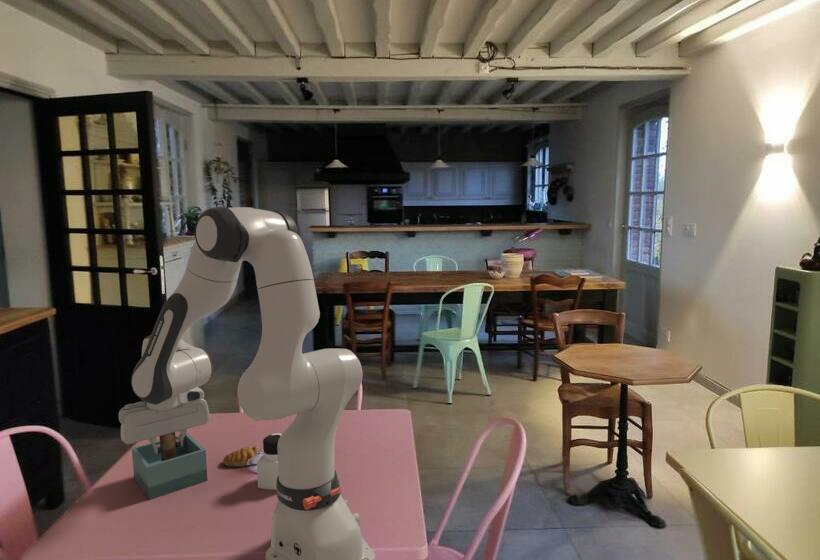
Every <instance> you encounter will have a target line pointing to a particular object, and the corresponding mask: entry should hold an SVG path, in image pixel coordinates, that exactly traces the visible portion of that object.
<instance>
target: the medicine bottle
mask: <svg viewBox="0 0 820 560" xmlns="http://www.w3.org/2000/svg"><path fill="white" fill-rule="evenodd" d="M281 434H282V433H271V434H269V435H267V436H265V437H264V438H263V440H262V445H263V446H262V448H263V449H262V450H263V455H261V456H260V457H259V458H260V459H259V460H258V461H257V464H256V472H257V474H256V475H257V488H258V489H261V490H270V491H271V490H272V491H276V483H277V477H278V475H279V473H278V452H277V445H278V441H279V438H280V436H281Z"/></svg>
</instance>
